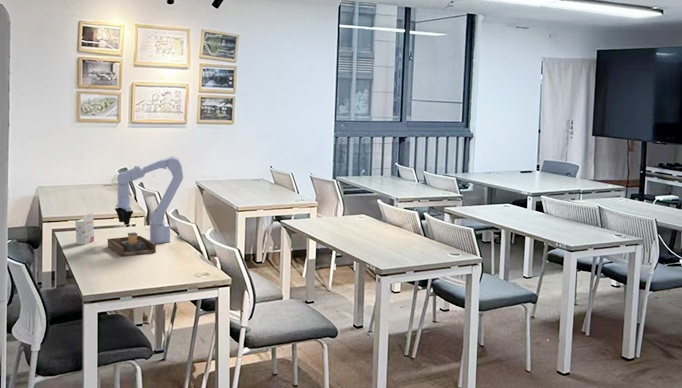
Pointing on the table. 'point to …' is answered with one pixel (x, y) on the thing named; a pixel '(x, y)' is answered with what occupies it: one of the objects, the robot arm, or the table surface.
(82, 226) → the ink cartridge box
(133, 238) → the plug
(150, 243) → the brown wooden box
